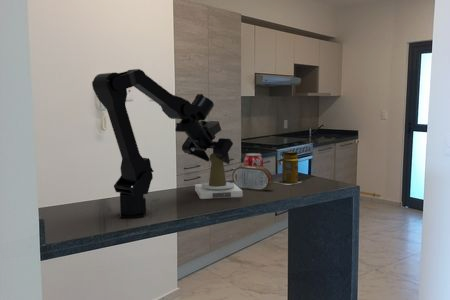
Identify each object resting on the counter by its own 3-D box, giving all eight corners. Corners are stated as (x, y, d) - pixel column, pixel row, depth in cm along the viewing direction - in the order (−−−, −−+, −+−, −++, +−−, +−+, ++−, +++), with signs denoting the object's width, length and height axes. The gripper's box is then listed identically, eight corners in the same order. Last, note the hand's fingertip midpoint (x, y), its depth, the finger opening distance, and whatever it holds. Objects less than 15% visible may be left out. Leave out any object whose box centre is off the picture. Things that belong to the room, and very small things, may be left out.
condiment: (302, 182, 160) (302, 151, 158) (289, 185, 154) (289, 153, 152) (287, 180, 165) (287, 150, 163) (274, 182, 159) (274, 152, 158)
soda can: (266, 185, 154) (266, 153, 152) (257, 188, 148) (257, 155, 146) (249, 183, 157) (249, 152, 156) (240, 186, 151) (240, 154, 150)
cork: (227, 186, 138) (227, 153, 137) (209, 186, 137) (209, 154, 136) (224, 182, 144) (224, 151, 143) (207, 183, 143) (207, 152, 142)
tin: (272, 190, 145) (273, 167, 144) (269, 192, 142) (269, 168, 141) (235, 186, 152) (234, 164, 151) (231, 188, 149) (231, 165, 148)
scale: (200, 199, 132) (200, 190, 132) (195, 190, 146) (195, 181, 146) (242, 197, 135) (242, 188, 135) (233, 188, 149) (233, 180, 149)
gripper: (229, 113, 128) (250, 145, 138) (187, 112, 140) (209, 142, 150) (212, 139, 123) (235, 171, 132) (170, 136, 135) (194, 166, 145)
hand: (218, 161), depth 140 cm, fingers open, 9 cm apart
